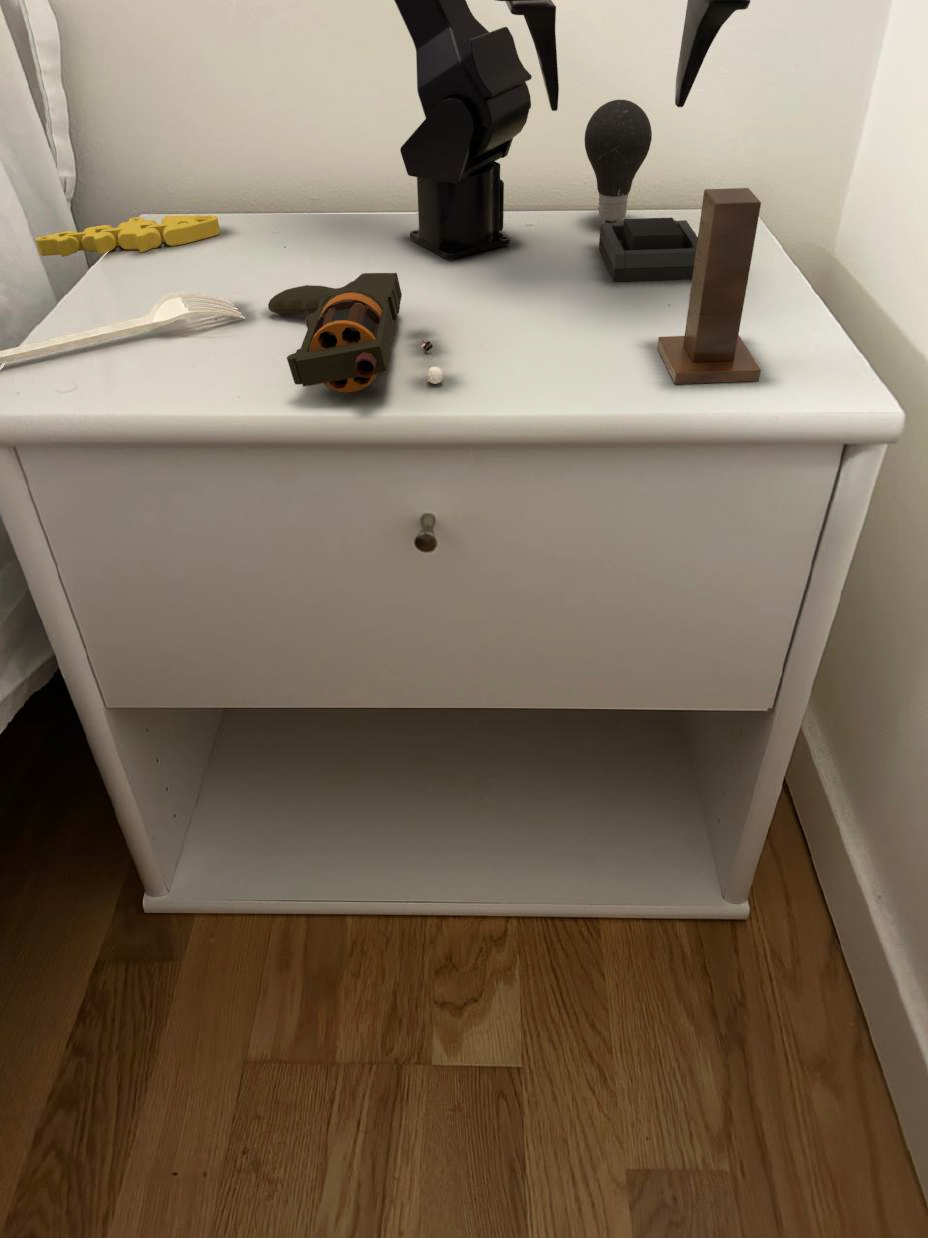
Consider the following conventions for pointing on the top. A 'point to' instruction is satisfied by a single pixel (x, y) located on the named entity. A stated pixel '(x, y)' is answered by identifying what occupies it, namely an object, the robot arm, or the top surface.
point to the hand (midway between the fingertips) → (616, 107)
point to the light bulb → (616, 153)
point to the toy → (131, 235)
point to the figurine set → (433, 373)
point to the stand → (717, 294)
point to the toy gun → (343, 330)
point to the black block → (651, 234)
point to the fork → (131, 324)
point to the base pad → (647, 256)
